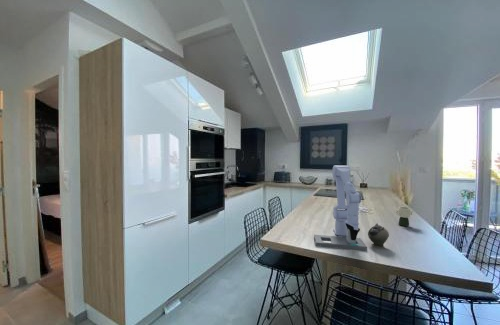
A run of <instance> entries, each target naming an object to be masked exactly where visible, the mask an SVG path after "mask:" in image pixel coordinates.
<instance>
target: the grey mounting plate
mask: <svg viewBox="0 0 500 325" xmlns="http://www.w3.org/2000/svg"><path fill="white" fill-rule="evenodd" d="M313 238H314V243H315V246H316V247H323V248H324V247H325V248H333V249H334V248H336V249H343V250H344V249H345V250H355V251H368V246H367V245H366V243H365V242H364V241H363V239H361V238H359V237H356V244H355V243H348V242H347V240H346V236H340V235H323V234H314V235H313Z"/></svg>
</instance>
